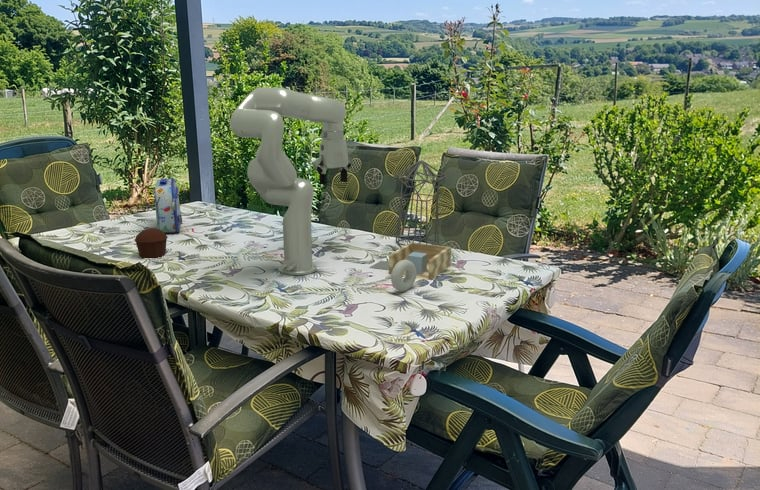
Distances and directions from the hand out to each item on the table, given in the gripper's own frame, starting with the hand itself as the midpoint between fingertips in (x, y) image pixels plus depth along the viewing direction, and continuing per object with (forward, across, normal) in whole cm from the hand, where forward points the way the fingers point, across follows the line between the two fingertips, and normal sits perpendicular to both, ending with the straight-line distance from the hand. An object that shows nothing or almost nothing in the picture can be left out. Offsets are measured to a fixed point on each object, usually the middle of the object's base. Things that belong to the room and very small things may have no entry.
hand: (333, 183), depth 244 cm
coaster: (+26, +2, -27) cm, 38 cm away
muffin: (+27, -53, +40) cm, 72 cm away
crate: (+26, +8, -38) cm, 47 cm away
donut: (+27, -11, -50) cm, 57 cm away
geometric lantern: (+26, +22, -23) cm, 41 cm away
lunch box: (+26, -30, +76) cm, 85 cm away
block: (+26, +5, -39) cm, 47 cm away
